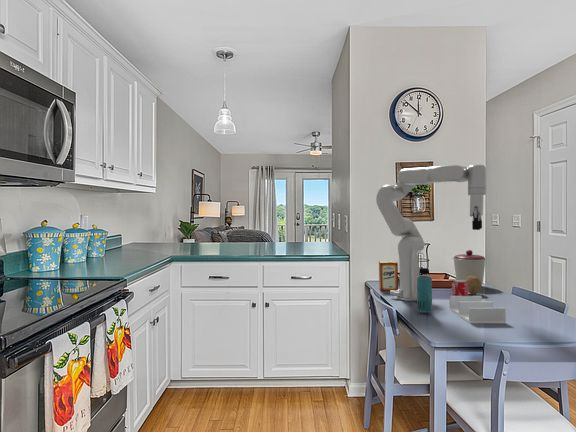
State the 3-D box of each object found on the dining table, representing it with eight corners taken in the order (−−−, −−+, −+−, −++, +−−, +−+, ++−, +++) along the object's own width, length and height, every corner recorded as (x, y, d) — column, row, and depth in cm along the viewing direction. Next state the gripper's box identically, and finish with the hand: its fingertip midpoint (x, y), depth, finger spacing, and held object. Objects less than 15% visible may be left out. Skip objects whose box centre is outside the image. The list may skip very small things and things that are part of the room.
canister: (484, 290, 228) (484, 252, 227) (449, 287, 238) (449, 250, 237) (488, 285, 243) (488, 249, 242) (456, 282, 253) (455, 247, 252)
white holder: (469, 323, 165) (469, 308, 165) (449, 309, 188) (449, 296, 188) (505, 323, 165) (505, 308, 164) (480, 309, 188) (480, 295, 187)
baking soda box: (380, 290, 231) (380, 262, 231) (379, 288, 238) (378, 260, 237) (397, 290, 230) (397, 262, 230) (396, 288, 237) (395, 260, 236)
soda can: (449, 304, 197) (449, 279, 197) (463, 303, 198) (463, 278, 197) (456, 308, 190) (456, 282, 190) (471, 307, 191) (471, 281, 190)
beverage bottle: (432, 312, 183) (432, 267, 182) (432, 316, 176) (432, 269, 176) (417, 311, 185) (416, 266, 184) (416, 315, 179) (416, 269, 178)
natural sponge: (459, 294, 219) (459, 275, 218) (467, 291, 225) (467, 273, 224) (477, 297, 212) (477, 277, 212) (484, 294, 218) (484, 275, 218)
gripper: (469, 192, 199) (470, 228, 200) (465, 191, 184) (466, 230, 185) (487, 192, 196) (487, 228, 196) (484, 191, 181) (484, 230, 181)
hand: (477, 229), depth 190 cm, fingers open, 9 cm apart
